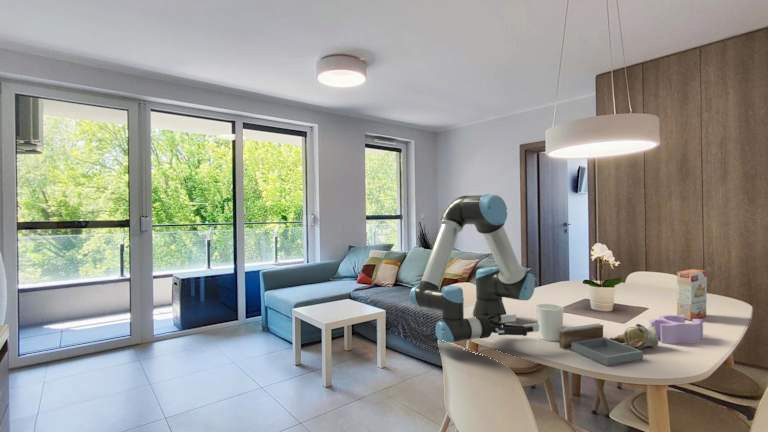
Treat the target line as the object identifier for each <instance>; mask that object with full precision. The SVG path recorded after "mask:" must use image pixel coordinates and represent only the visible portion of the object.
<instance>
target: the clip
mask: <svg viewBox="0 0 768 432" xmlns="http://www.w3.org/2000/svg"><path fill="white" fill-rule="evenodd" d="M685 320H686V319H685V316H684V315H680V316H678V315H677V314H663V315H660V316H659V318H653V319H649V327H653V326H656V327H657V331H658V339H660V343H661V344H667V345H676V344H677V343H688V342H694V343H699V342H701V341H702V340H701V339H702V338H701V337H703V338H704V319H701V318H698V319H692V320H691V321H692V322H686V321H685ZM700 340H701V341H700ZM698 341H699V342H698Z"/></svg>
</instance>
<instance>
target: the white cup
mask: <svg viewBox="0 0 768 432" xmlns="http://www.w3.org/2000/svg"><path fill="white" fill-rule="evenodd" d="M535 308H536V319H537V323H539V331H537V332H538V334H537V335H538V337H539V339H541V340H544V341H547V342H560V339H559V329H561V328H563V326H564V325H563V324H564V307H563V306H562V305H558V304H553V303H552V304H550V303H541V304H537V305H536V307H535Z"/></svg>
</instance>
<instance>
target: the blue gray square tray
mask: <svg viewBox="0 0 768 432" xmlns="http://www.w3.org/2000/svg"><path fill="white" fill-rule="evenodd" d="M570 349H571V351H572V352H574V353H576V354H578V355H580V356H583V357H584V358H587V359H590V360H592V361H594V362H597V363H599V364H601V365H603V366H605V367H606V368H607V367H613V366H619V365H624V364H629V363H635V362H640V361H641V362H642V361H644V351H643V350H641V349H639V350H638V349H635V348H633V347H630V346H629V345H628V344H625V343H619V342H616V341H614V340H611V339H610V338H608V337H606V336H605V337H604V336H603V337H602V338H596V339H589V340H582V341H576V342H571V348H570Z"/></svg>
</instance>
